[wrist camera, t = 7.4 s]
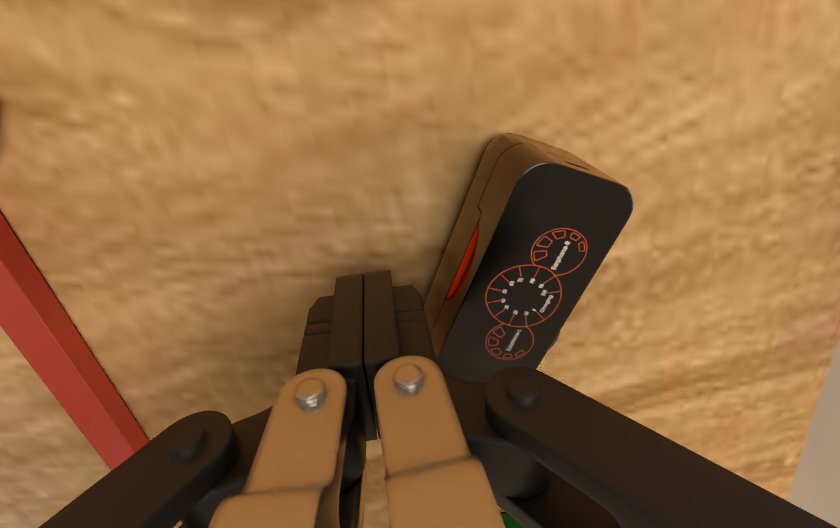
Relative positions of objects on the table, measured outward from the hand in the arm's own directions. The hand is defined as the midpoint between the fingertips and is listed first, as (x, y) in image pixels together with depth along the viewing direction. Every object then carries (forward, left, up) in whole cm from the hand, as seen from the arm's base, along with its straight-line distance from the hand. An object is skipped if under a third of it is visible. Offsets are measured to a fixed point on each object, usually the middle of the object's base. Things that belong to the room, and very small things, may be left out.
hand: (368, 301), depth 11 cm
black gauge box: (+4, 0, -2) cm, 5 cm away
